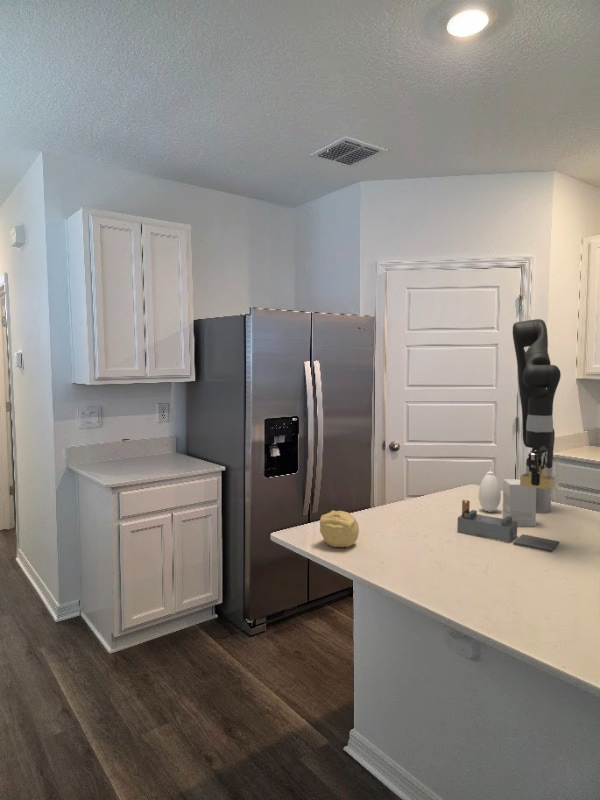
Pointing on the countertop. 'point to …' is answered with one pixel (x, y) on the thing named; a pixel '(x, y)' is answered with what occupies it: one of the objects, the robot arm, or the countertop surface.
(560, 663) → the countertop surface
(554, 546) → the rubber mat
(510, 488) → the supplement box
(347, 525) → the pale yellow lumpy ball
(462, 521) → the grey block holder tray
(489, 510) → the white ovoid vessel
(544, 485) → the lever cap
